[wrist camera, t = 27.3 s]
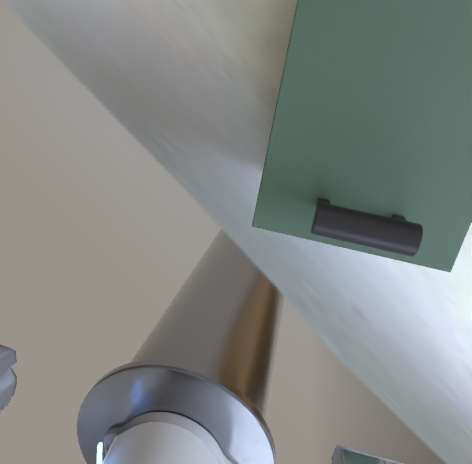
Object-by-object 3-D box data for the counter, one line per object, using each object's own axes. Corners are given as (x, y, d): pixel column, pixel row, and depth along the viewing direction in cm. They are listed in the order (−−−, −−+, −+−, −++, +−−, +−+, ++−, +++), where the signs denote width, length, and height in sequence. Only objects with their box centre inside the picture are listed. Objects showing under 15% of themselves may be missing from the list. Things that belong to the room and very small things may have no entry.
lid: (446, 267, 26) (473, 305, 21) (253, 222, 27) (240, 249, 23) (569, -31, 20) (641, -64, 15) (312, -68, 21) (310, -108, 17)
